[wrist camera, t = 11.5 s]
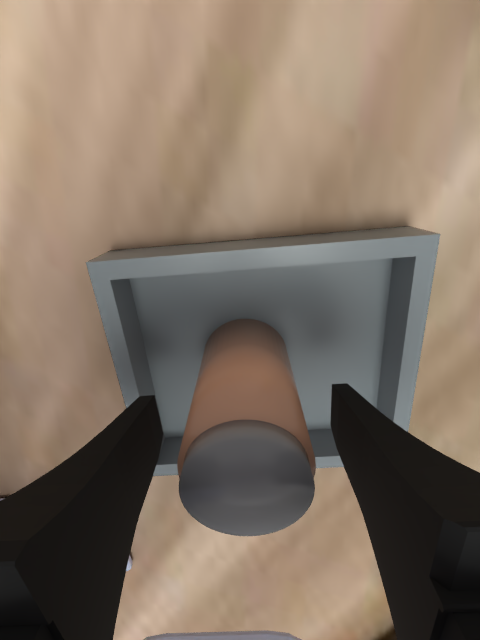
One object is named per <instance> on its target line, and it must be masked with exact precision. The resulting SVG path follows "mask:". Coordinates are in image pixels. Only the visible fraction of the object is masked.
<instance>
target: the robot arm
mask: <svg viewBox="0 0 480 640" xmlns="http://www.w3.org/2000/svg"><path fill="white" fill-rule="evenodd" d="M330 425H331V429H332V433H333V437H334V441H335V444H336V448H337V450H338V453H339V456H340V458H341V461H342V463H343V465H344V468H345V470H346V473H347V475H348V478H349V480H350V483H351V485H352V488H353V490H354V492H355V495H356V497H357V500H358V502H359V505H360V508H361V511H362V513H363V517H364V520H365V523H366V526H367V530H368V533H369V536H370V540H371V543H372V547H373V550H374V554H375V557H376V561H377V564H378V568H379V571H380V575H381V578H382V582H383V586H384V589H385V593H386V597H387V601H388V604H389V608H390V612H391V616H392V620H393V624H394V628H395V632H396V636H397V640H480V473H479V472H477V471H475V470H473V469H471V468H469V467H467V466H465V465H463V464H461V463H459V462H457V461H455V460H453V459H451V458H449V457H448V456H446V455H444V454H442V453H440V452H439V451H437V450H435V449H433V448H432V447H430V446H428V445H427V444H425V443H424V442H422V441H420V440H419V439H417V438H416V437H414V436H413V435H411V434H410V433H408V432H407V431H405V430H404V429H403V428H401V427H400V426H398V425H397V424H396V423H394V422H393V421H392V420H390V419H389V418H388V417H386V416H385V415H384V414H383V413H381V412H380V411H379V410H378V409H376V408H375V407H374V406H373V405H372V404H371V403H369V402H368V401H367V400H366V399H365V398H364V397H362V396H361V395H360V394H359V393H358V392H357V391H356V390H355V389H353V388H352V387H351V386H350V385H349V384H348V383H343V384H332V394H331V420H330ZM162 439H163V430H162V425H161V421H160V416H159V412H158V408H157V403H156V399H155V395H147V396H140V397H138V398H137V399H136V400H135V401H134V402H133V403H132V404H131V405H130V406H129V407H127V408H126V409H125V410H124V411H123V412H122V413H121V414H120V415H119V416H118V417H117V418H116V419H115V420H114V421H113V422H112V423H110V424H109V425H108V426H107V427H106V428H105V429H104V430H103V431H102V432H100V433H99V434H98V435H97V436H96V437H94V438H93V439H92V440H91V441H90V442H89V443H87V444H86V445H85V446H84V447H83V448H81V449H80V450H79V451H78V452H76V453H75V454H74V455H72V456H71V457H70V458H68V459H67V460H65V461H64V462H63V463H61V464H60V465H58V466H57V467H56V468H54V469H53V470H51V471H49V472H48V473H46V474H45V475H43V476H42V477H40V478H39V479H37V480H35V481H34V482H32V483H31V484H29V485H27V486H26V487H24V488H22V489H21V490H19V491H17V492H15V493H14V494H12V495H10V496H8V497H7V498H1V499H0V640H113V635H114V629H115V623H116V618H117V613H118V608H119V603H120V597H121V592H122V587H123V582H124V578H125V573H126V571H128V570H130V569H131V567H132V560H131V557H130V550H131V546H132V542H133V538H134V533H135V529H136V525H137V522H138V518H139V515H140V512H141V509H142V506H143V503H144V500H145V497H146V494H147V491H148V488H149V485H150V482H151V480H152V477H153V474H154V471H155V468H156V465H157V462H158V458H159V454H160V450H161V445H162ZM144 640H301V639H299V638H297V637H295V636H293V635H291V634H289V633H283V632H275V631H236V632H201V633H166V634H161V635H155V636H150V637H146V638H145V639H144Z"/></svg>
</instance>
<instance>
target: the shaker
mask: <svg viewBox="0 0 480 640" xmlns="http://www.w3.org/2000/svg"><path fill="white" fill-rule="evenodd" d="M177 468H178V474H179V477H180V481H179V495H180V498H181V501H182V503H183V505H184V507H185V508H186V510H187V511H188V513H189V514H190V515H191V516H192V517H193V518H195V519H196V520H197V521H198V522H200V523H201V524H203V525H205V526H206V527H208V528H210V529H213V530H215V531H218V532H221V533H225V534H230V535H236V536H258V535H265V534H269V533H273V532H276V531H279V530H282V529H284V528H286V527H288V526H290V525H291V524H293V523H294V522H296V521H297V520H298V519H299V518H301V517H302V516H303V515H304V514H305V512H306V511H307V510H308V508H309V507H310V505H311V503H312V500H313V497H314V491H315V486H314V475H315V469H316V461H315V456H314V452H313V448H312V444H311V441H310V437H309V433H308V429H307V425H306V421H305V418H304V414H303V410H302V406H301V402H300V398H299V395H298V391H297V387H296V383H295V379H294V375H293V372H292V368H291V364H290V360H289V356H288V352H287V349H286V345H285V342H284V340H283V338H282V337H281V335H280V334H279V333H278V332H277V331H276V330H275V329H274V328H273V327H271V326H270V325H268V324H266V323H264V322H261V321H259V320H254V319H236V320H233V321H230V322H227V323H225V324H223V325H221V326H220V327H218V328H217V329H216V330H215V331H214V332H213V333H212V334H211V336H210V337H209V339H208V340H207V343H206V345H205V349H204V353H203V357H202V361H201V365H200V370H199V374H198V378H197V382H196V386H195V390H194V394H193V398H192V402H191V406H190V411H189V415H188V419H187V423H186V427H185V431H184V435H183V439H182V443H181V447H180V452H179V456H178V462H177Z"/></svg>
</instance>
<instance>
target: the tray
mask: <svg viewBox="0 0 480 640" xmlns="http://www.w3.org/2000/svg"><path fill="white" fill-rule="evenodd" d="M439 238H440V234H438V233H434V232H430V231H426V230H422V229H418V228H414V227H410V226H406V227H394V228H382V229H369V230H357V231H345V232H332V233H320V234H308V235H296V236H283V237H271V238H259V239H247V240H234V241H222V242H210V243H198V244H185V245H173V246H161V247H149V248H136V249H124V250H112V251H108V252H106V253H104V254H102V255H100V256H98V257H96V258H94V259H92V260H90V261H88V262H86V264H87V268H88V272H89V275H90V279H91V283H92V286H93V290H94V293H95V297H96V301H97V304H98V308H99V311H100V315H101V319H102V322H103V326H104V330H105V333H106V337H107V340H108V344H109V348H110V351H111V355H112V358H113V362H114V366H115V369H116V373H117V377H118V380H119V384H120V387H121V391H122V395H123V398H124V402H125V405H126V408H127V407H129V406H130V405H131V404H132V403H133V402H134V401H135V400H136V399H137V398H138V397H140V396H147V395H155V399H156V403H157V408H158V412H159V416H160V421H161V425H162V430H163V439H162V445H161V450H160V454H159V458H158V462H157V465H156V468H155V471H154V474H153V476H164V475H179V474H178V468H177V462H178V456H179V452H180V447H181V443H182V439H183V435H184V431H185V427H186V423H187V419H188V415H189V411H190V406H191V402H192V398H193V394H194V390H195V386H196V382H197V378H198V374H199V370H200V365H201V361H202V357H203V353H204V349H205V345H206V343H207V340H208V339H209V337H210V336H211V334H212V333H213V332H214V331H215V330H216V329H217V328H218V327H220V326H221V325H223V324H225V323H227V322H230V321H233V320H236V319H254V320H259V321H261V322H264V323H266V324H268V325H270V326H271V327H273V328H274V329H275V330H276V331H277V332H278V333H279V334H280V335H281V337H282V338H283V340H284V342H285V345H286V349H287V352H288V356H289V360H290V364H291V368H292V372H293V375H294V379H295V383H296V387H297V391H298V395H299V398H300V402H301V406H302V410H303V414H304V418H305V421H306V425H307V429H308V433H309V437H310V441H311V444H312V448H313V452H314V456H315V461H316V468H329V467H344V465H343V463H342V461H341V458H340V456H339V453H338V450H337V448H336V444H335V441H334V437H333V433H332V429H331V425H330V420H331V394H332V384H343V383H348V384H349V385H350V386H351V387H352V388H353V389H355V390H356V391H357V392H358V393H359V394H360V395H361V396H362V397H364V398H365V399H366V400H367V401H368V402H369V403H371V404H372V405H373V406H374V407H375V408H376V409H378V410H379V411H380V412H381V413H383V414H384V415H385V416H386V417H388V418H389V419H390V420H392V421H393V422H394V423H396V424H397V425H398V426H400V427H401V428H403V429H404V430H405V431H407V432H408V429H409V423H410V416H411V410H412V404H413V398H414V392H415V386H416V380H417V373H418V367H419V361H420V355H421V349H422V343H423V337H424V331H425V324H426V318H427V312H428V306H429V300H430V294H431V288H432V281H433V275H434V269H435V263H436V257H437V251H438V245H439Z"/></svg>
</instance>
